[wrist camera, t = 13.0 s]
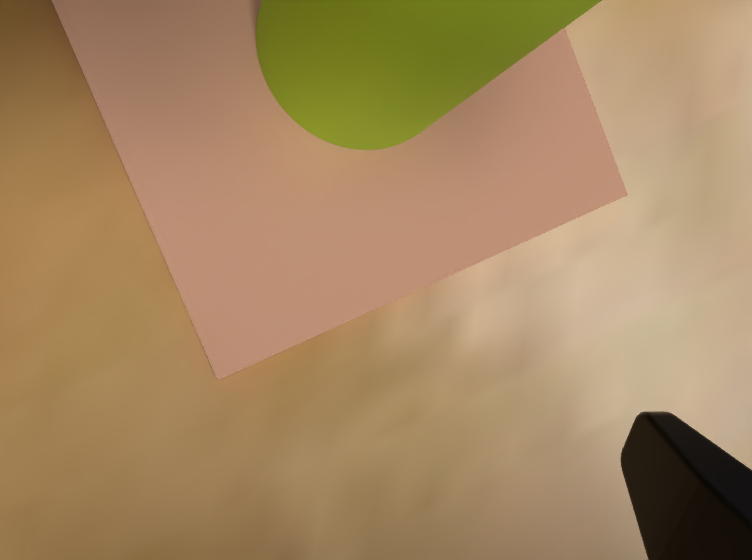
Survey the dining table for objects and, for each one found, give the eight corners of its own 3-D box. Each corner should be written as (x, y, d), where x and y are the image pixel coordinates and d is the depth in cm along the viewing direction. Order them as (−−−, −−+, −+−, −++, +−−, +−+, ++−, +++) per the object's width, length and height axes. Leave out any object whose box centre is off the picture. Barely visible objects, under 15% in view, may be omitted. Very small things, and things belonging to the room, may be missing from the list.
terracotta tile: (216, 378, 18) (217, 380, 17) (-2, -121, 17) (-8, -136, 16) (615, 197, 22) (627, 194, 21) (459, -214, 21) (467, -229, 20)
